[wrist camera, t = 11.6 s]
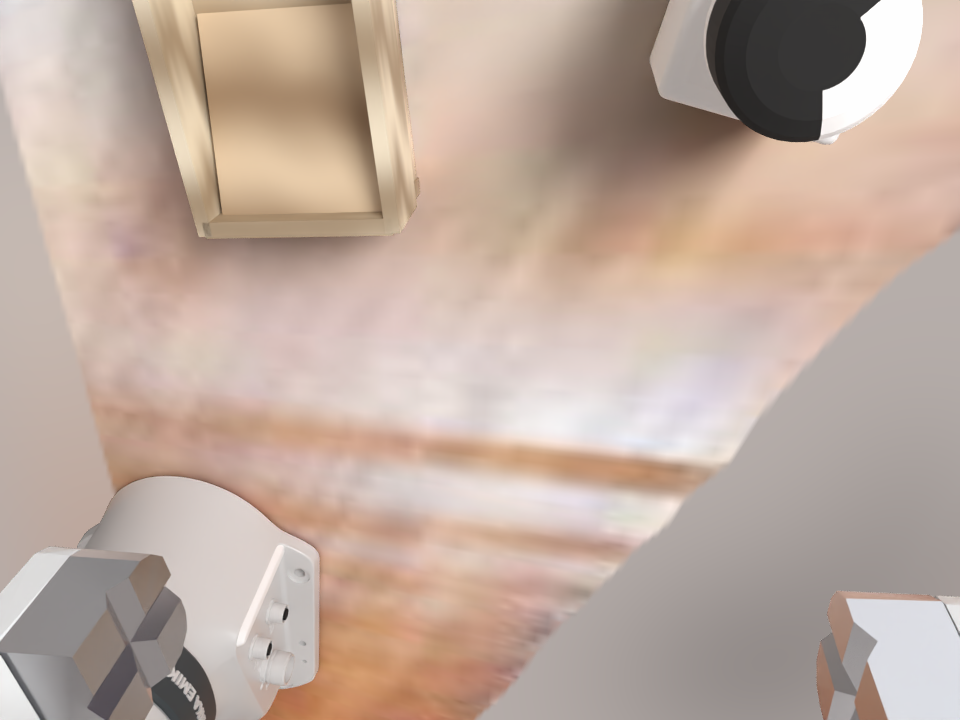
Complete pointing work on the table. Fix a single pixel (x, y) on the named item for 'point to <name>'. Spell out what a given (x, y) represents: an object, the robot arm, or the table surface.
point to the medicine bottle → (787, 61)
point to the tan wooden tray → (285, 114)
